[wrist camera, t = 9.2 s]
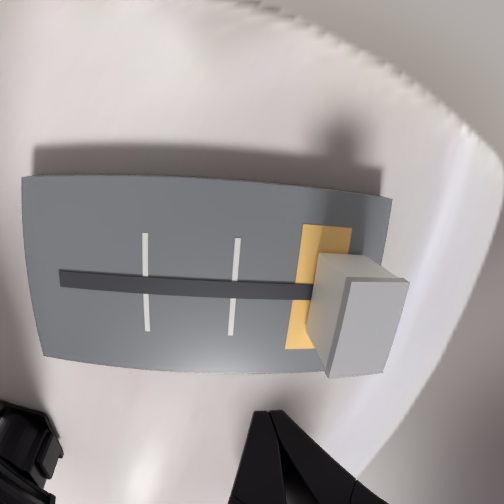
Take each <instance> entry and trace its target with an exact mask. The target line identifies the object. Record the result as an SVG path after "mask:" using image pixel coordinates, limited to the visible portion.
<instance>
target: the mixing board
mask: <svg viewBox="0 0 504 504" xmlns="http://www.w3.org/2000/svg"><path fill="white" fill-rule="evenodd" d="M391 205H392V199H390V198H386V197H383V196H378V195H371V194H364V193H357V192H350V191H342V190H334V189H326V188H318V187H309V186H300V185H291V184H281V183H270V182H259V181H247V180H235V179H221V178H205V177H187V176H164V175H129V174H64V175H33V176H27V177H22V221H23V236H24V248H25V258H26V266H27V274H28V281H29V288H30V294H31V300H32V306H33V311H34V316H35V321H36V326H37V330H38V335H39V339H40V343H41V347H42V351H43V355H44V356H47V357H53V358H58V359H64V360H70V361H77V362H84V363H91V364H98V365H106V366H114V367H123V368H133V369H143V370H156V371H170V372H187V373H215V374H273V373H300V372H318V371H325V369H326V367H325V366H324V364H323V362H322V360H321V358H320V356H319V355H318V353H317V351H316V349H315V347H314V346H313V344H312V342H311V340H310V338H309V336H308V335H307V333H306V325H307V320H308V314H309V309H310V303H311V298H312V292H313V286H314V280H315V274H316V267H317V261H318V254H319V253H333V254H351V255H365V256H367V257H368V258H370V259H371V260H373V261H374V262H376V263H377V264H379V265H380V266H381V262H382V257H383V252H384V247H385V242H386V236H387V230H388V224H389V218H390V212H391Z"/></svg>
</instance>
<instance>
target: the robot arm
mask: <svg viewBox="0 0 504 504" xmlns="http://www.w3.org/2000/svg"><path fill="white" fill-rule="evenodd" d="M63 455H64V454H63V452H62V449H61V447H60V445H59V443H58V441H57V439H56V436H55V434H54V432H53V430H52V428H51V425H50V423H49V420H48V418H47V416H46V415H45V414H43V413H41V412H38V411H34V410H30V409H26V408H23V407H19V406H16V405H13V404H9V403H6V402H3V401H0V504H55V499H56V496H54V495H53V494H51V493H48V492H47V491H45V490H44V489H43V488H44V485H45V482H46V480H47V479H49V480H50V479H51V478H52V476H53V473H54V470H55V467H56V464H57V461H58V458H63ZM355 480H356V478H354V477H353V476H352V475H351V474H350V473H349V472H348V471H346V470H345V469H344V468H343V467H342V466H341V465H340V464H339V463H338V462H336V461H335V460H334V459H333V458H332V457H331V456H330V455H329V454H328V453H327V452H325V451H324V450H323V449H322V448H321V447H320V446H319V445H318V444H317V443H316V442H315V441H314V440H313V439H312V438H311V437H309V436H308V435H307V434H306V433H305V432H304V431H303V430H302V429H301V428H300V427H299V426H298V425H297V424H296V423H295V422H294V421H293V420H292V419H291V418H290V417H289V416H288V415H287V414H286V413H285V412H284V411H282V410H270V411H254V413H253V416H252V420H251V424H250V427H249V431H248V435H247V438H246V442H245V446H244V449H243V453H242V456H241V460H240V464H239V467H238V471H237V474H236V478H235V481H234V484H233V488H232V491H231V495H230V497H229V501H228V504H388V503H387V502H385V501H384V500H382V499H381V498H379V497H378V496H377V495H375V494H374V493H373V492H371V491H370V490H369V489H368V488H366V487H365V486H364V485H363V484H362V483H360V482H359V481H358V480H356V481H355Z"/></svg>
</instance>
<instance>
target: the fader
mask: <svg viewBox="0 0 504 504" xmlns="http://www.w3.org/2000/svg"><path fill="white" fill-rule="evenodd" d="M409 284H410V282H408V281H407V280H405V279H404V278H398V277H396V276H395V275H393V274H392V273H390V272H389V271H388V270H386V269H385V268H383V267H382V266H380V265H379V264H377V263H376V262H374V261H373V260H371V259H370V258H368V257H367V256H365V255H351V254H333V253H319V254H318V261H317V267H316V274H315V280H314V286H313V292H312V298H311V303H310V309H309V314H308V320H307V325H306V333H307V335H308V336H309V338H310V340H311V342H312V344H313V346H314V347H315V349H316V351H317V353H318V355H319V356H320V358H321V360H322V362H323V364H324V366H325V367H326V369H325V373H326V375H327V377H328V379H330V378H341V377H351V376H360V375H369V374H377V373H383V370H384V367H385V364H386V361H387V358H388V356H389V353H390V350H391V347H392V343H393V340H394V337H395V334H396V331H397V327H398V324H399V321H400V317H401V314H402V310H403V307H404V303H405V299H406V295H407V292H408V288H409Z"/></svg>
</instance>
